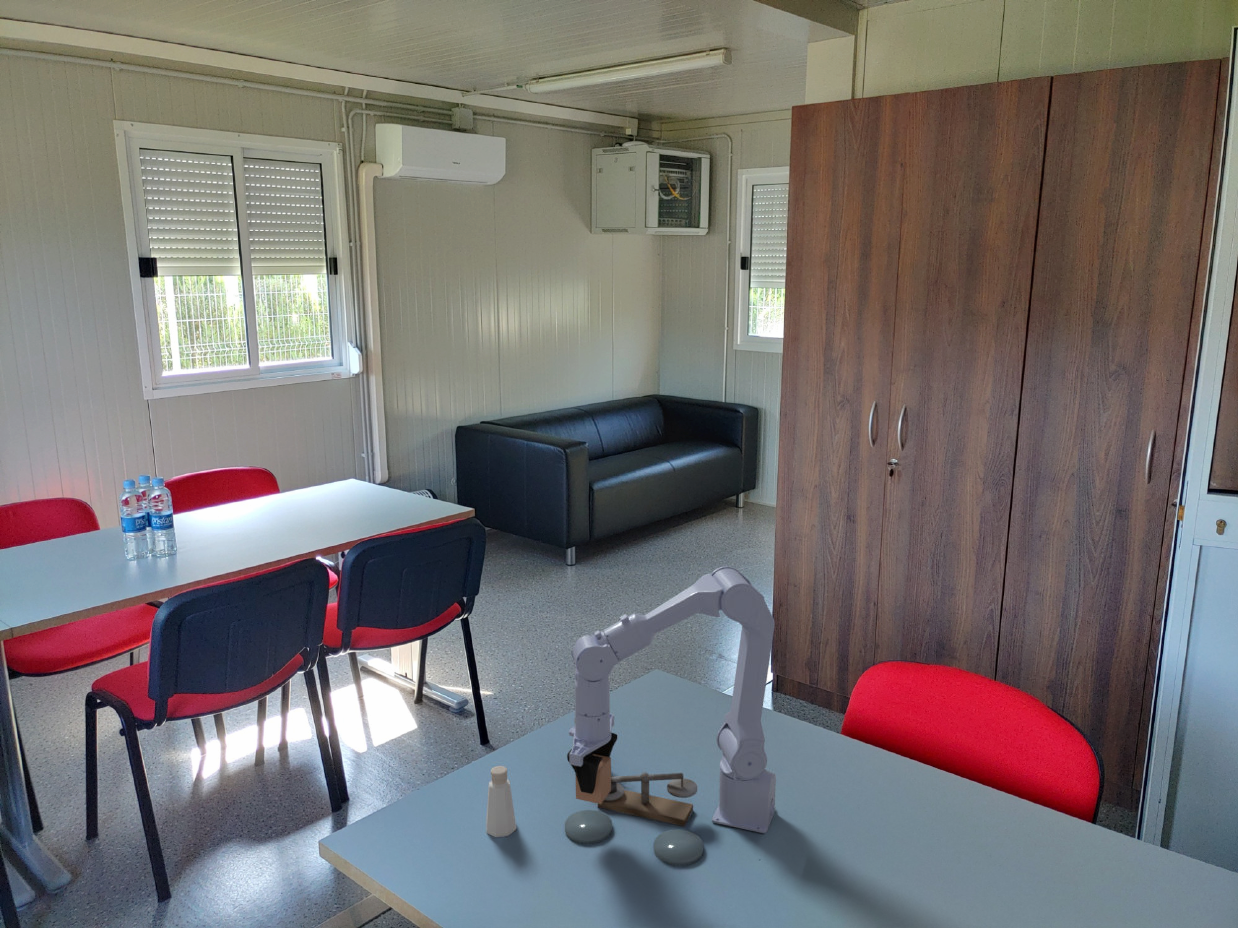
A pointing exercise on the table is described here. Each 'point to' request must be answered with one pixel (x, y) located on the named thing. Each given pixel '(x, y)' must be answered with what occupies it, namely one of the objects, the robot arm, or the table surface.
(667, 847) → the smooth grey pebble
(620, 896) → the table surface
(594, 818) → the grey dome
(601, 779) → the block
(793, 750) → the table surface
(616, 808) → the balance
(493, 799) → the salt shaker
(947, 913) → the table surface
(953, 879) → the table surface
